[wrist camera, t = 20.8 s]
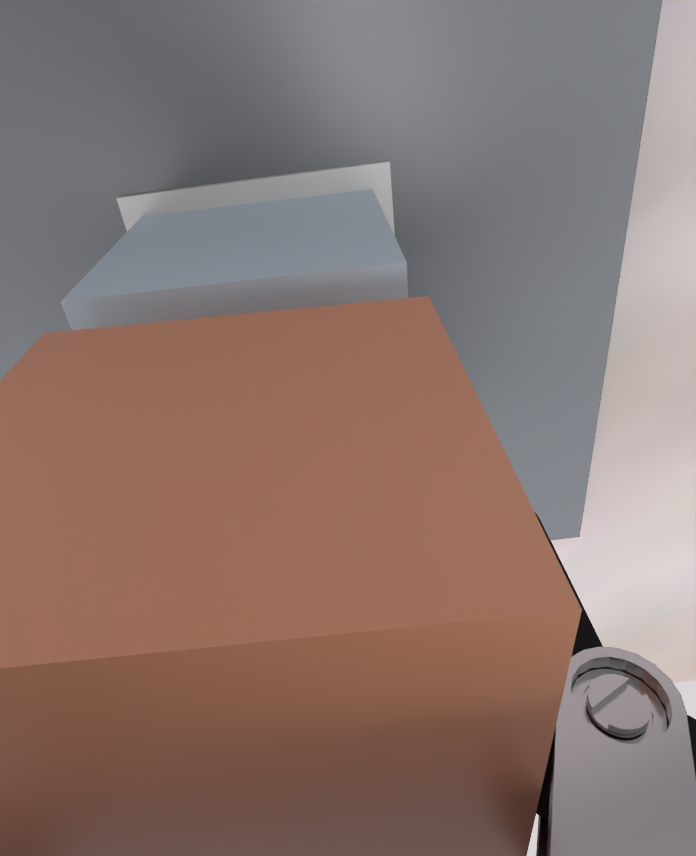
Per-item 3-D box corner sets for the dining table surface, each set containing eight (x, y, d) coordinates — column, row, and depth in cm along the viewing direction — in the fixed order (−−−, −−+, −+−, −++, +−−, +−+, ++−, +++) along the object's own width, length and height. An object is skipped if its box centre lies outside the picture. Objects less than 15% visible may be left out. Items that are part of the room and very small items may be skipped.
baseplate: (-239, -36, 13) (-293, -44, 12) (659, -161, 13) (695, -182, 11) (87, 576, 24) (76, 603, 23) (567, 516, 24) (581, 540, 23)
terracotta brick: (44, 333, 9) (-289, 698, 4) (429, 296, 9) (582, 608, 4) (171, 650, 13) (91, 1009, 8) (428, 624, 13) (501, 967, 8)
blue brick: (142, 216, 15) (60, 301, 10) (372, 189, 15) (406, 261, 10) (212, 461, 19) (180, 605, 14) (390, 440, 19) (419, 578, 14)
